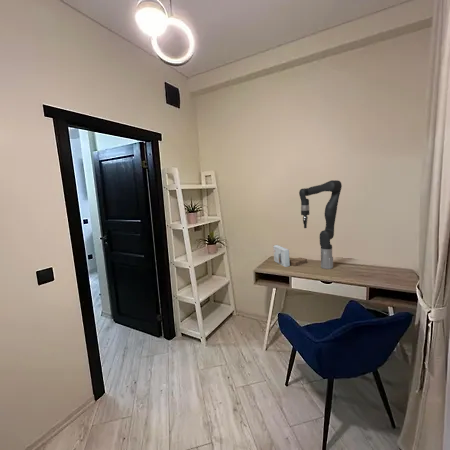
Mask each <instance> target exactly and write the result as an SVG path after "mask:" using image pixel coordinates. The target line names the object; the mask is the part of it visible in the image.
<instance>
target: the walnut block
mask: <svg viewBox="0 0 450 450" xmlns="http://www.w3.org/2000/svg"><path fill="white" fill-rule="evenodd" d="M289 261H290V266H293V267H298V266H302V265H304V264H307V263H308V260H307V258H303V257H298V258H294V259H289Z"/></svg>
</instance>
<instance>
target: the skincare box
mask: <svg viewBox="0 0 450 450" xmlns="http://www.w3.org/2000/svg"><path fill="white" fill-rule="evenodd" d="M272 247H273V260H274V262H275V263H277V264H278V265H281V266H283V267H285V268H286V267H290V266H291V265H290V249H288V248H286V247H283V246H282V245H279V244H276V245H273V246H272Z"/></svg>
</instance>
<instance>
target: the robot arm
mask: <svg viewBox="0 0 450 450" xmlns="http://www.w3.org/2000/svg"><path fill="white" fill-rule="evenodd" d="M342 187H343V185H342V182H341V181H340V180H338V179H337V180H329V181H327V182H324V183H321V184H319V185H318V184H317V185H314V186H310V187H305V188H301V189H300V190H299V192H298V193H299V198H300V214H301V216H303V217H302V223H303V228H304V229H307V227H308V226H307V225H308V216H309V215H310V199H309V198H307V197H309V196H312V195H317V194H320V193H323V192H331V194H330V198H329V199H328V202H327V203H326V205H325V208H324V219H325V226H324V227H325V228H324V230H322V231H321V232H320V233H319V246H320V268H321V269H327V270H331V269H333V268H334V256H333V245H332V243H331V240H332V239H333V238H334V236H335V224H336V223H335V222H336V218H337V211H338V204H339V200H340V195H341V190H342Z"/></svg>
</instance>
